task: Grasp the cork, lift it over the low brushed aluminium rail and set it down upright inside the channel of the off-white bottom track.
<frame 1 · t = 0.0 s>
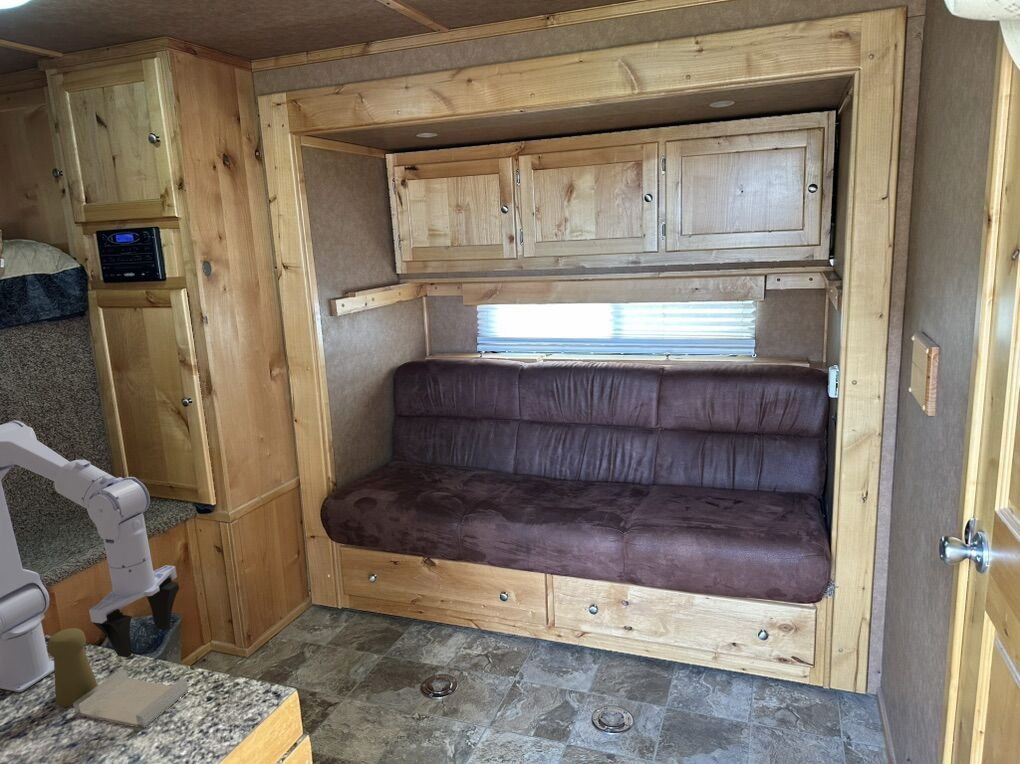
hand: (144, 641, 111), 10 cm above the counter, tool pointing down, fingers open, 7 cm apart
cork: (77, 696, 116), on the counter
bottom track: (133, 703, 113), on the counter
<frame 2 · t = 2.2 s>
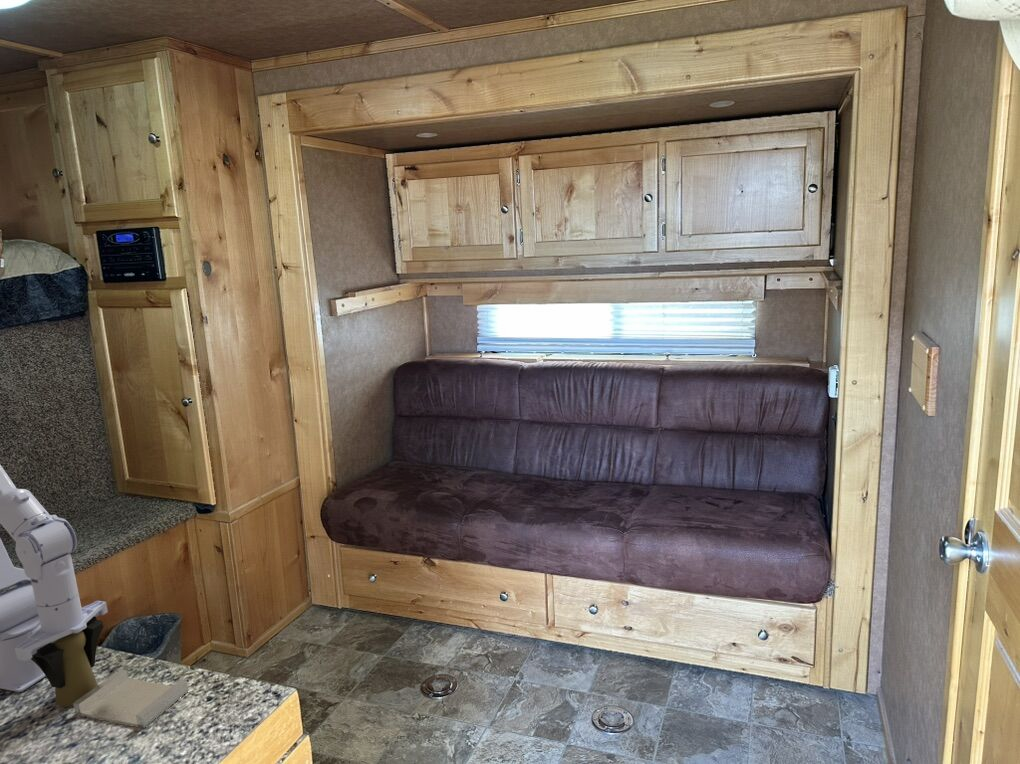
hand: (73, 675, 115), 3 cm above the counter, tool pointing down, fingers closed on cork, 5 cm apart
cork: (77, 696, 116), on the counter, touching gripper
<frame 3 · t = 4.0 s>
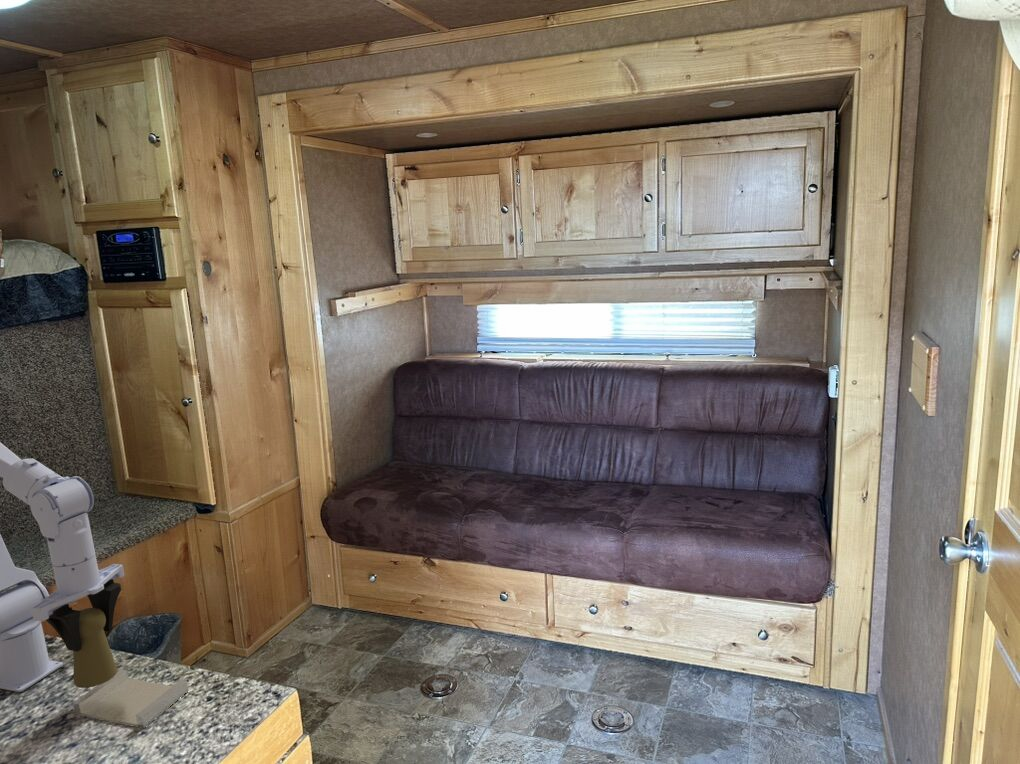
hand: (90, 639, 112), 11 cm above the counter, tool pointing down, fingers closed on cork, 5 cm apart
cork: (96, 677, 114), point 4 cm above the counter, touching gripper
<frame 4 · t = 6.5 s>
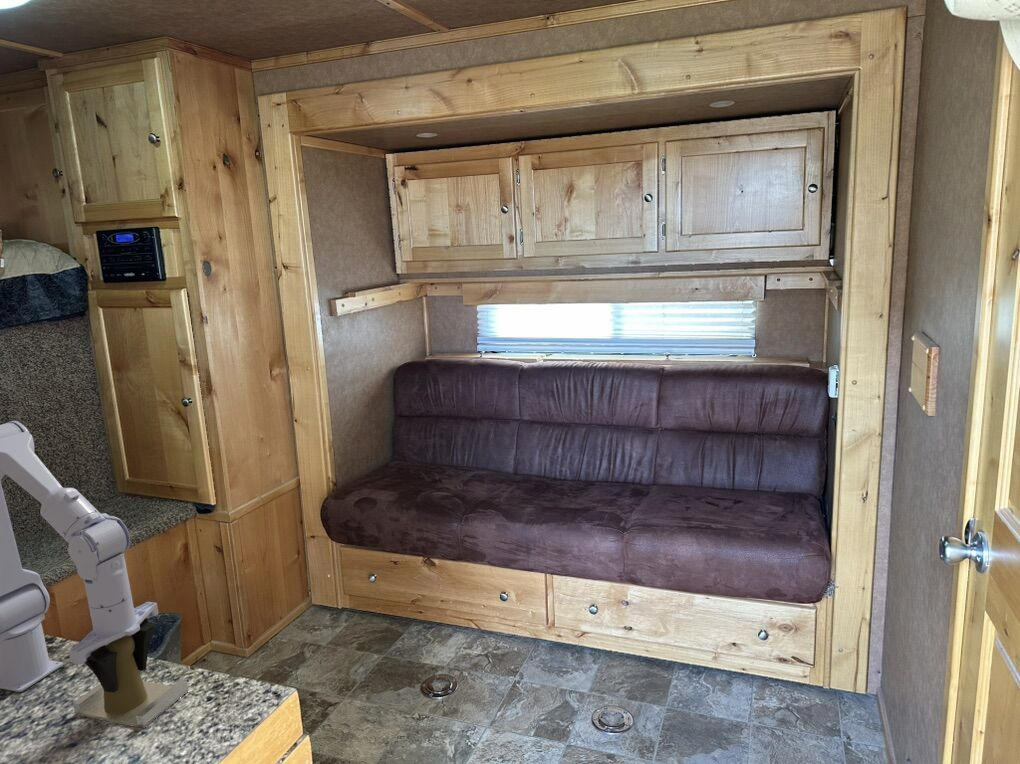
hand: (125, 679, 112), 4 cm above the counter, tool pointing down, fingers closed on cork, 5 cm apart
cork: (126, 702, 113), resting on bottom track, touching gripper
when the fingers open (4 cm above the counter, at t = 7.7 s): cork stays where it is, resting on bottom track.
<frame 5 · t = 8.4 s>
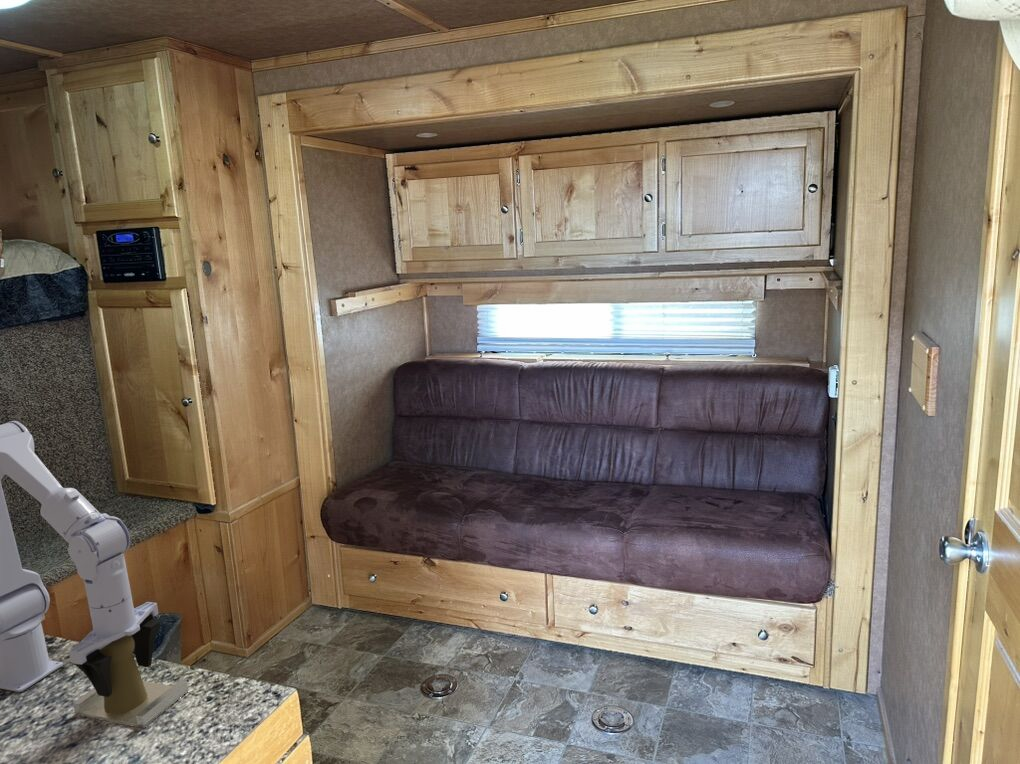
hand: (125, 679, 112), 4 cm above the counter, tool pointing down, fingers open, 7 cm apart
cork: (126, 702, 113), resting on bottom track
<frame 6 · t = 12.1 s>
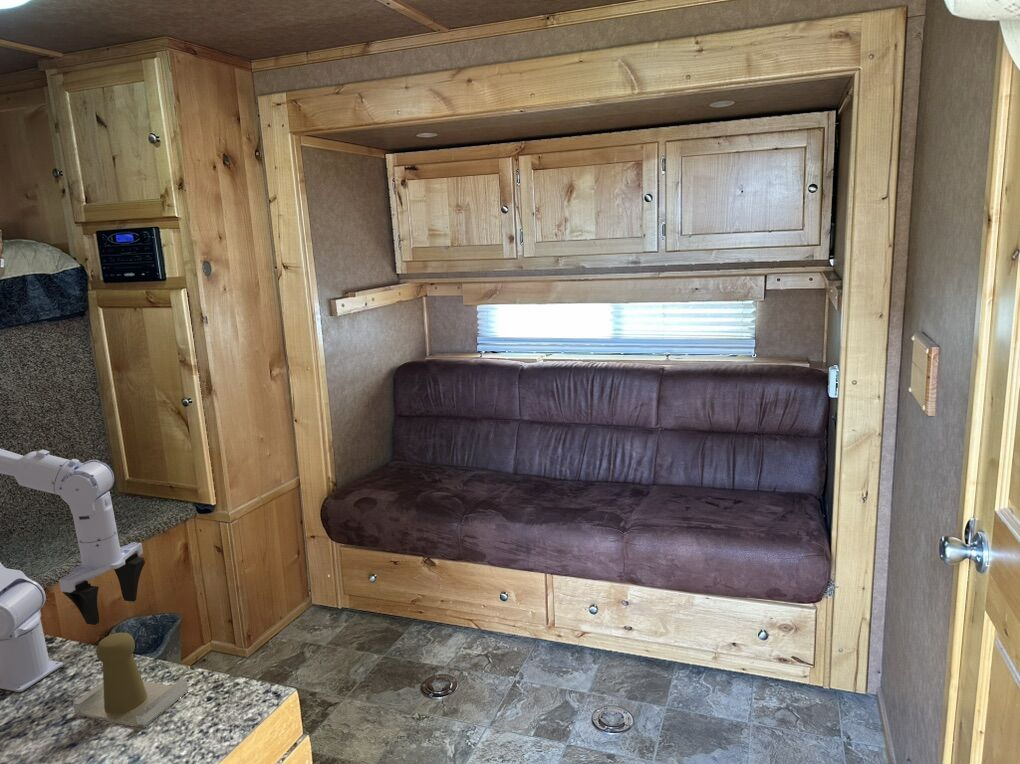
hand: (112, 611, 121), 10 cm above the counter, tool pointing down, fingers open, 7 cm apart
nothing on the counter moved.
at the end: cork inside the target area on the bottom track (0.8 cm from its centre), point 0.3 cm above the bottom track's base; cork tilted 0°; the gripper is holding nothing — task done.
